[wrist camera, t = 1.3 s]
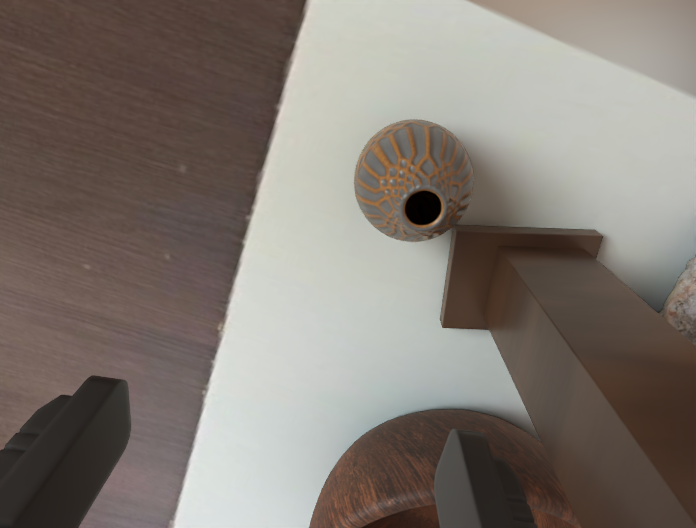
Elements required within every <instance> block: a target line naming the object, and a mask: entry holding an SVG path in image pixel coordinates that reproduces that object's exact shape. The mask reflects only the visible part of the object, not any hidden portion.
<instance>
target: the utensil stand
mask: <svg viewBox="0 0 696 528" xmlns="http://www.w3.org/2000/svg"><path fill="white" fill-rule="evenodd" d="M602 238H603V236H602V235H601V234H600V233H598V232H597V231H596V230H583V229H555V228H526V227H498V226H469V225H454V226H453V231H452V238H451V245H450V252H449V259H448V266H447V273H446V280H445V287H444V295H443V302H442V309H441V316H440V321H441V324H442V328H459V329H485V330H490V332H491V334H492V337H493V339H494V341H495V343H496V345H497V347H498V349H499V352H500V354H501V356H502V358H503V360H504V362H505V364H506V367H507V369H508V371H509V373H510V375H511V377H512V380H513V382H514V384H515V386H516V388H517V390H518V392H519V395H520V397H521V399H522V401H523V403H524V405H525V408H526V410H527V412H528V414H529V416H530V418H531V420H532V423H533V425H534V427H535V429H536V431H537V433H538V435H539V438H540V440H541V442H542V444H543V446H544V448H545V451H546V453H547V455H548V457H549V459H550V461H551V463H552V466H553V468H554V470H555V472H556V474H557V476H558V479H559V481H560V483H561V485H562V487H563V489H564V491H565V494H566V496H567V498H568V500H569V502H570V504H571V506H572V509H573V511H574V513H575V515H576V517H577V519H578V522H579V524H580V526H581V528H696V346H695V345H694V344H693V343H692V342H691V341H690V340H688V339H687V338H686V337H685V336H684V335H683V334H681V333H680V332H679V331H678V330H677V329H676V328H675V327H673V326H672V325H671V324H670V323H669V322H668V321H667V320H665V319H664V318H663V317H662V316H661V315H660V314H659V313H657V312H656V311H655V310H654V309H653V308H652V307H650V306H649V305H648V304H647V303H646V302H645V301H644V300H642V299H641V298H640V297H639V296H638V295H637V294H636V293H634V292H633V291H632V290H631V289H630V288H629V287H627V286H626V285H625V284H624V283H623V282H622V281H621V280H619V279H618V278H617V277H616V276H615V275H614V274H613V273H611V272H610V271H609V270H608V269H607V268H606V267H604V266H603V265H602V264H601V263H600V262H599V261H598V260H596V257H597V254H598V251H599V248H600V244H601V241H602Z"/></svg>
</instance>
